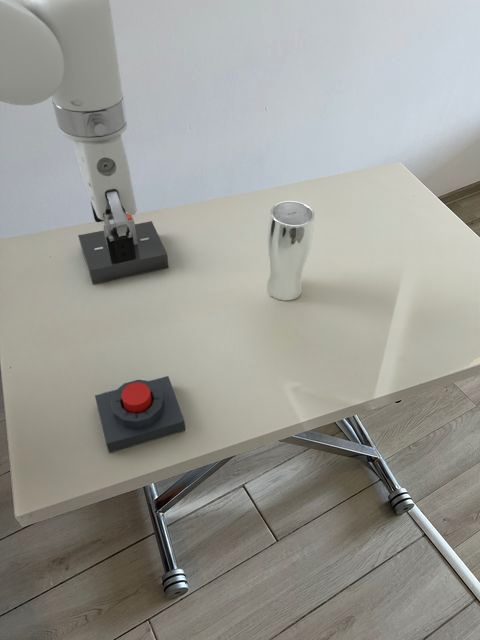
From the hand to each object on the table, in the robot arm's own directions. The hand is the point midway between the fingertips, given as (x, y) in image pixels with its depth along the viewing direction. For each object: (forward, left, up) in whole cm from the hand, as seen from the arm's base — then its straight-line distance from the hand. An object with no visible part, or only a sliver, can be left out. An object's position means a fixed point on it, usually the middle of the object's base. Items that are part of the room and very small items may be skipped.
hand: (114, 239), depth 72 cm
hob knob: (+9, +12, -12) cm, 19 cm away
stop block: (-11, -16, -15) cm, 24 cm away
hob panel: (+9, +12, -15) cm, 21 cm away
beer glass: (+23, -13, -15) cm, 30 cm away
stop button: (-11, -16, -11) cm, 22 cm away
